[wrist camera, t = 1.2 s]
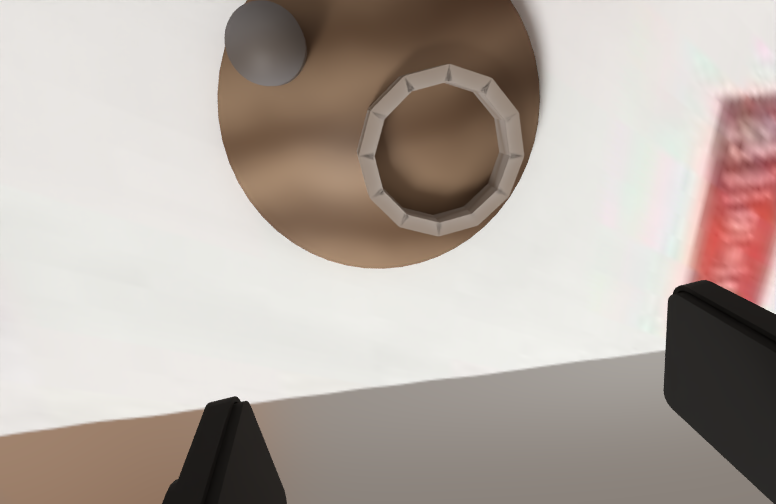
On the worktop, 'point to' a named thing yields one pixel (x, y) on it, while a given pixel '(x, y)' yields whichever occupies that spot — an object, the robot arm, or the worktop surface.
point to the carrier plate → (412, 134)
